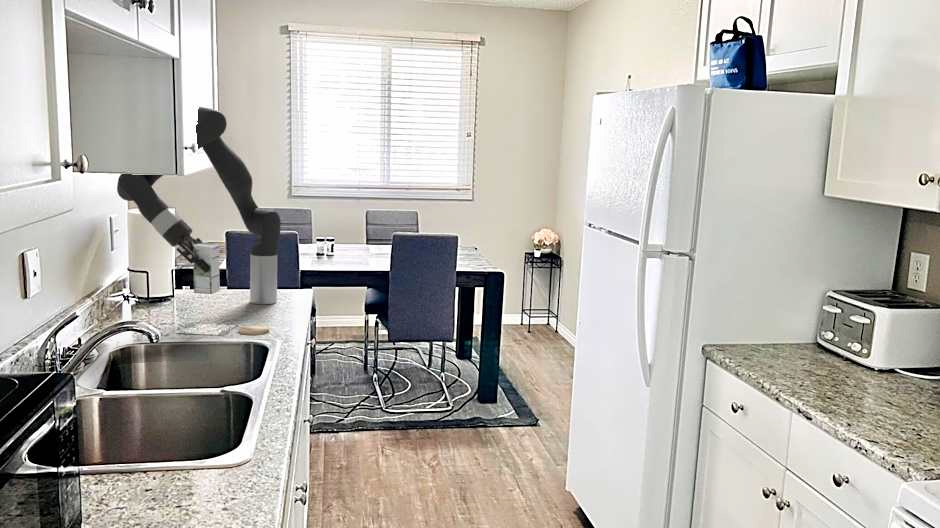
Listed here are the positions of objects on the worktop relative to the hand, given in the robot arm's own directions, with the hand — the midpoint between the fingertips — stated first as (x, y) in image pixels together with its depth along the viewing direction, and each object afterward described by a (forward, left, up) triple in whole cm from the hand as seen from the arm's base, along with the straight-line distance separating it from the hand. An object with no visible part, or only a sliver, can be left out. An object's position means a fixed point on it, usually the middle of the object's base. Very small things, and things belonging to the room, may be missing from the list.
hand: (212, 268), depth 218 cm
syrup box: (0, -2, -7) cm, 8 cm away
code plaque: (0, -2, -19) cm, 19 cm away
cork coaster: (0, +12, -19) cm, 22 cm away
